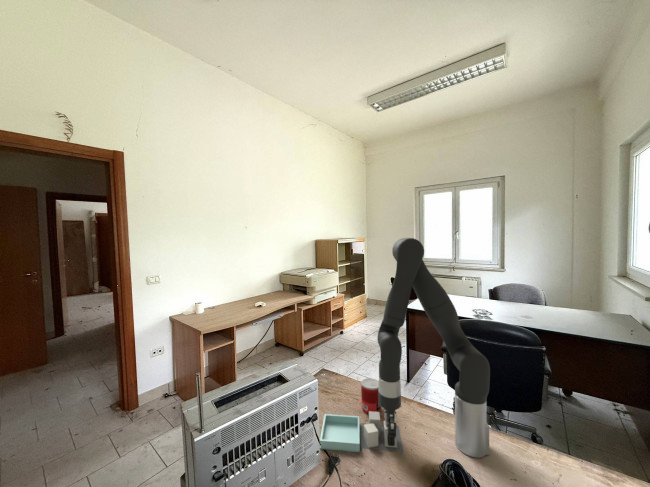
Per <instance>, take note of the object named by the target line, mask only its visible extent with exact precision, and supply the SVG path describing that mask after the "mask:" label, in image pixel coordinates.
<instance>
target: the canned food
mask: <svg viewBox="0 0 650 487" xmlns="http://www.w3.org/2000/svg"><path fill="white" fill-rule="evenodd" d="M378 381H379V379H375V378H371V377H367V378H363V379H362V380H361V383H360V388H361V393H360V396H361V398H360V399H361V401H360V402H361V409H362V411H363V412H364V413H366V414H368V415H369V411H372V412H379V413H381V411H382V407H381V406H380V404H379V395H378Z"/></svg>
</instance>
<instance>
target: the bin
mask: <svg viewBox="0 0 650 487" xmlns="http://www.w3.org/2000/svg"><path fill="white" fill-rule="evenodd" d="M319 437H320V438H319V445H320V444H321V449H320V450H326V451H327V450H329V451H337V452H338V451H340V452H351V453H353V452H354V453H360V451H361V431H360V416H359V415H345V414H343V415H342V414H330V413H329V414H328V413H327V414H326V413H324V415H323V422H322V428H321V433H320V436H319Z"/></svg>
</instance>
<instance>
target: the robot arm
mask: <svg viewBox="0 0 650 487" xmlns="http://www.w3.org/2000/svg"><path fill="white" fill-rule="evenodd" d="M391 251H392V256H393V259H394V260H395V261H396V271H395V276H394V280H393V283H392V286H391V288H390V290H389V292H388V296H387V299H386V303H385V307H384V308H385V309H384V313H383V317H382V321H381V323H380V326H379V329H378V332H377V339H376V340H377V343H378V347H379V350H380V359H379V363H378V395H379V404H380V406H381V408H383V417H384V421H385V425H386V427H387V435H388V445H389V446H394V445H395V438H396V426H398V424H397V417H398V416H397V410H399V409H400V408H401V406H402V383H401V360H402V355H403V354H402V352H403V349H402V348H403V346H402V341H401V340H400V339H399V332H400V329H401V328H402V327H403V326H404V324H405V322H406V317H407V311H408V306H409V302H410V299H411V298H410V297H411V293H412V289H413V290H414V293H415V295H416V297H417V299H418V302H420V305H421V307H422V309H423V310H424V312H425V314H426V316H427V318H428V319H429V320H430V323H431V324H432V326H433V327H434V329H435V330H436V332H437V333H438V334H439V336H440V337H441V339H442V340H443V343H444V344H445V347H446V349H447V351H448V354H449V357H450V359H451V361H452V363H453V364H454V366H455V367H456V368H457V370H458V371H459V378H458V379H459V381H457V382H455V384H454V429H455V430H454V441H455V442H454V443H455V446H456V447H457V448H458V449H459V451H461V452H462V453H463V454H464V455H467V456H469V457H472V458H477V459H479V458H484V457H485V456H490V425H489V424H488V423H489V422H487V398H488V395H489V392H490V385H491V384H490V382H491V380H490V379H491V366H490V363H489V360H488V358H487V357H486V356H485V355H484V354H482V353H481V351H479V350H478V349H477V348H476V347H475V346H474V345H473V344H472V343H471V342H470V340H469V339H468V337H467V336H466V334H465V332H464V331H463V330H462V327H461V324H460V318H459V316H458V313H457V312H458V311H457V309H456V307H455V305H454V302H452V300H451V298H450V296H449V294H448V293H447V292H446V290H445V289H444V287H443V286H442V285H441V284H440V283H439V281H438V280H437V279H436V278H435V277H434V276H433V274H432V273H431V272H430V270H429V269H428V267H427V265H426V264H425V261H424V260H423V258H424V256H425V248H424V245H423V244H422V242H421V241H419V240H418V239H416V238H414V237H413V238H412V237H404V238H403V237H402V238H399V239H397V240H396V241H395V242H394V243H393V246H392V249H391ZM387 422H388V423H387Z"/></svg>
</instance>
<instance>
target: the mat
mask: <svg viewBox="0 0 650 487" xmlns="http://www.w3.org/2000/svg"><path fill="white" fill-rule="evenodd" d="M365 424H368V423H363V422H361V423H360V422H359V425H360V450H361V449H364V450H374V451H387V452H398V453H405V450H404V446H403V441H402V437H401V431H400V428H399V427H400V426H399V425H397V426H396V428H397V448H395V447H385V443H384V424H381V423H380V437H379V436H378V446H375V447H370V448H368V446H367V444H366V442H365V440H364V425H365Z"/></svg>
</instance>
